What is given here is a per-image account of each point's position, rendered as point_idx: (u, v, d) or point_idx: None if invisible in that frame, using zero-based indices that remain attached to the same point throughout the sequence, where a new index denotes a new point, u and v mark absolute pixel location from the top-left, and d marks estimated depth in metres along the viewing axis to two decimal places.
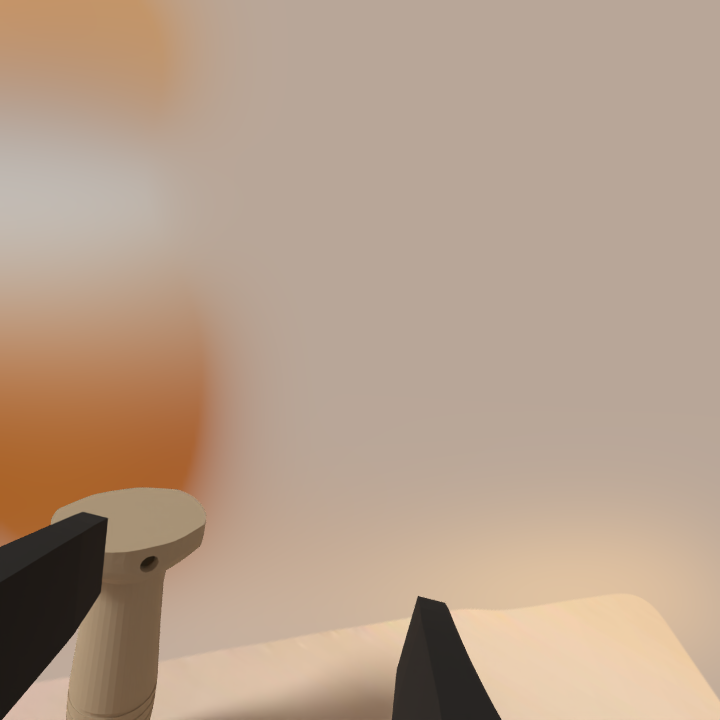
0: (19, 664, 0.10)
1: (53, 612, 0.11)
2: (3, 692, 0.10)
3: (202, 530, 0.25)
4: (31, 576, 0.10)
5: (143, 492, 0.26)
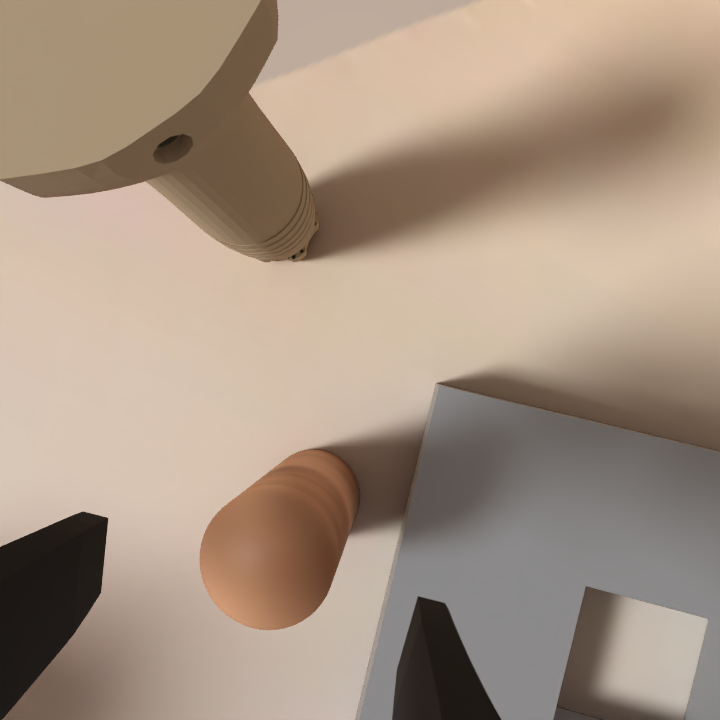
0: (19, 664, 0.10)
1: (53, 612, 0.11)
2: (3, 692, 0.10)
3: (265, 12, 0.09)
4: (31, 576, 0.10)
5: None
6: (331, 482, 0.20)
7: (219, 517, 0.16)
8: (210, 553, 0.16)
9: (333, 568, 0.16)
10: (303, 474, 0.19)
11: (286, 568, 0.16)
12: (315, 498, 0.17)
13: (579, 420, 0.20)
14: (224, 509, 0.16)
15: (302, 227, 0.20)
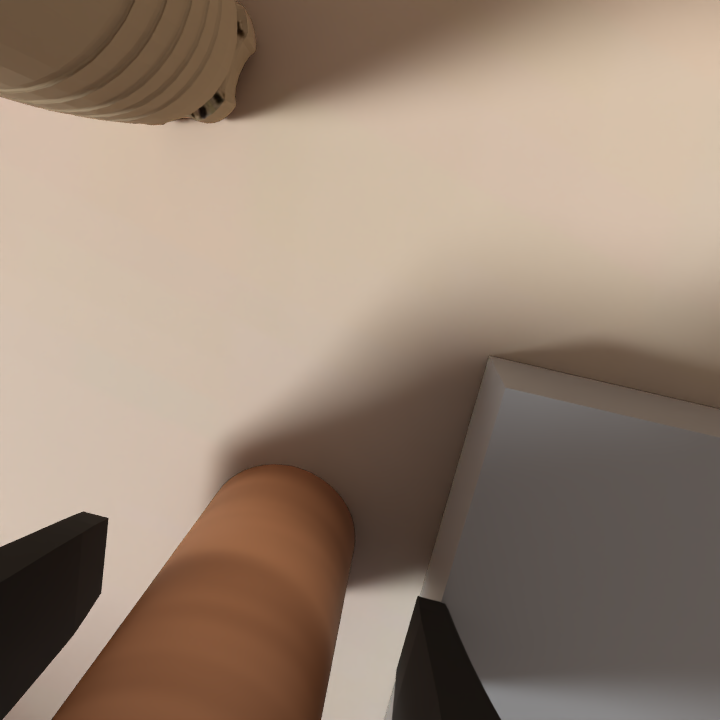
0: (19, 664, 0.10)
1: (53, 612, 0.11)
2: (3, 692, 0.10)
3: None
4: (31, 576, 0.10)
5: None
6: (293, 588, 0.10)
7: None
8: None
9: None
10: (231, 599, 0.09)
11: None
12: (241, 714, 0.07)
13: None
14: None
15: (185, 36, 0.08)
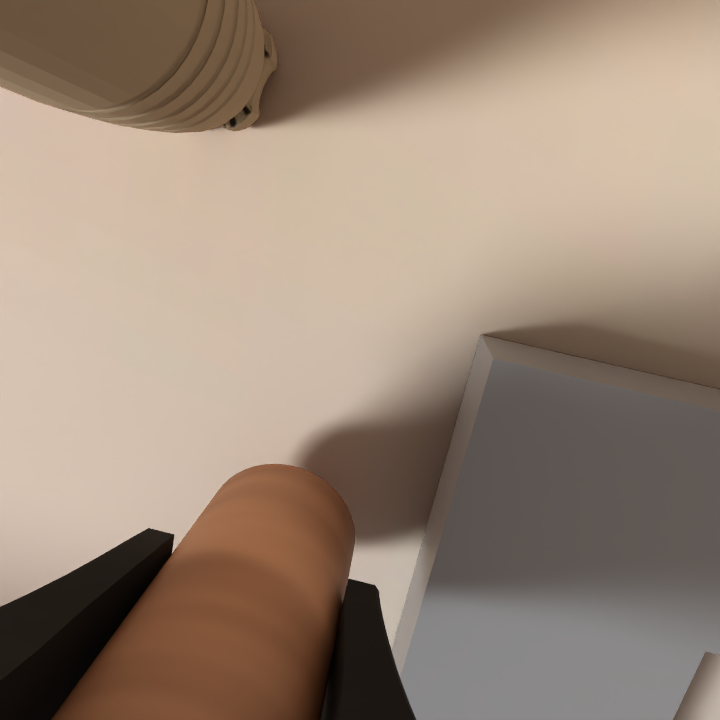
0: None
1: None
2: None
3: None
4: (112, 597, 0.10)
5: None
6: (293, 588, 0.10)
7: None
8: None
9: None
10: (230, 599, 0.09)
11: None
12: (240, 715, 0.07)
13: None
14: None
15: (228, 63, 0.09)
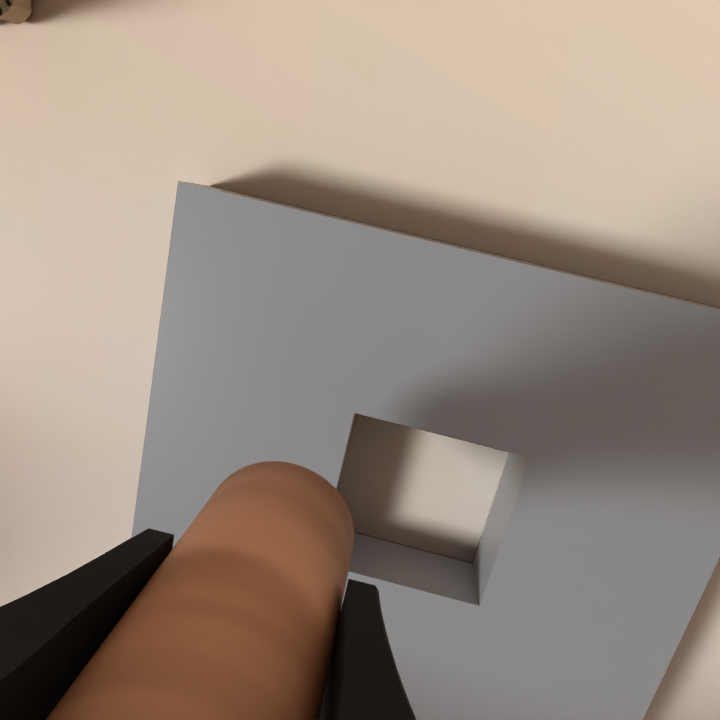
0: None
1: None
2: None
3: None
4: (112, 597, 0.10)
5: None
6: (292, 584, 0.10)
7: None
8: None
9: None
10: (228, 595, 0.09)
11: None
12: (238, 710, 0.07)
13: (345, 222, 0.17)
14: None
15: None
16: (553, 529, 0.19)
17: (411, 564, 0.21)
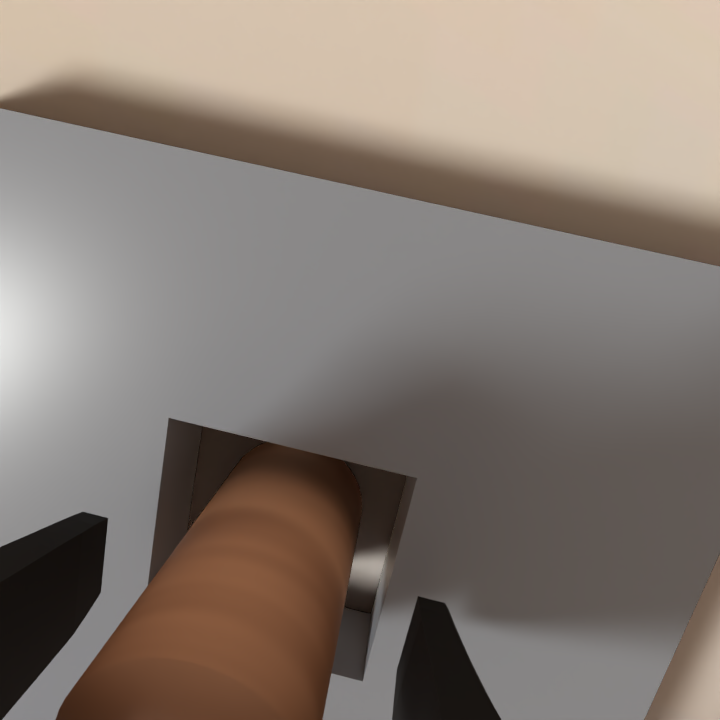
0: (19, 664, 0.10)
1: (53, 612, 0.11)
2: (3, 692, 0.10)
3: None
4: (31, 576, 0.10)
5: None
6: (310, 538, 0.11)
7: (78, 695, 0.08)
8: None
9: None
10: (257, 544, 0.11)
11: None
12: (270, 629, 0.09)
13: (126, 138, 0.11)
14: (86, 683, 0.08)
15: None
16: (456, 577, 0.13)
17: None
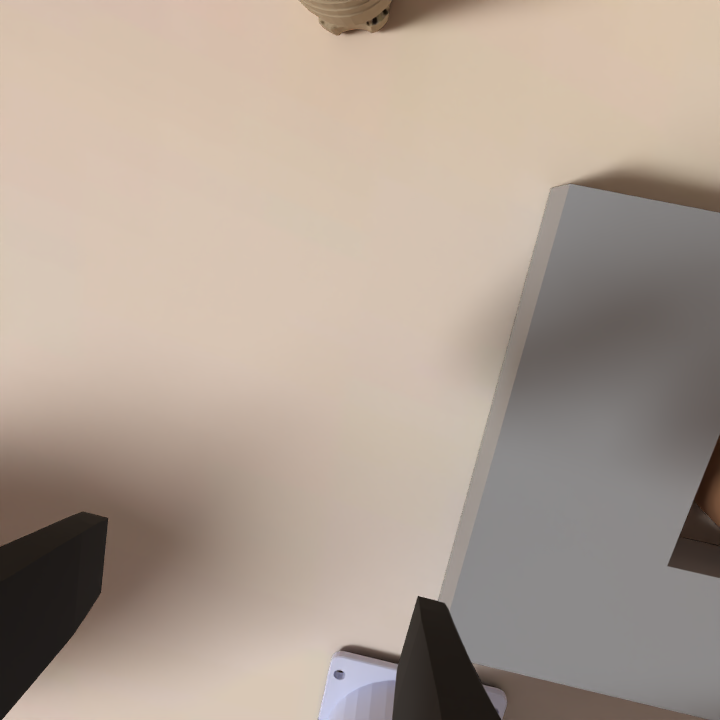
0: (19, 664, 0.10)
1: (53, 612, 0.11)
2: (3, 692, 0.10)
3: None
4: (31, 576, 0.10)
5: None
6: None
7: None
8: None
9: None
10: None
11: None
12: None
13: None
14: None
15: None
16: None
17: None
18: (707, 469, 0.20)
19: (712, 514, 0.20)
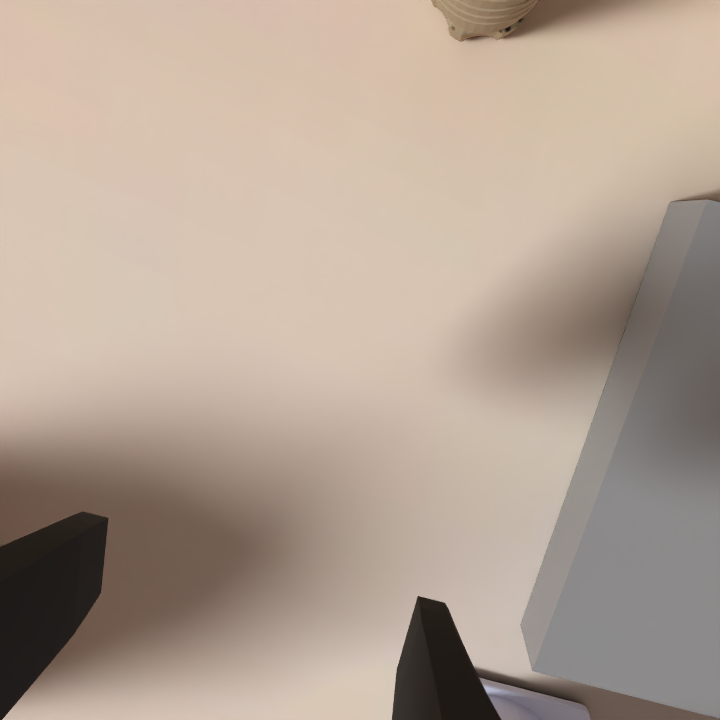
0: (19, 664, 0.10)
1: (53, 612, 0.11)
2: (3, 692, 0.10)
3: None
4: (31, 576, 0.10)
5: None
6: None
7: None
8: None
9: None
10: None
11: None
12: None
13: None
14: None
15: None
16: None
17: None
18: None
19: None
